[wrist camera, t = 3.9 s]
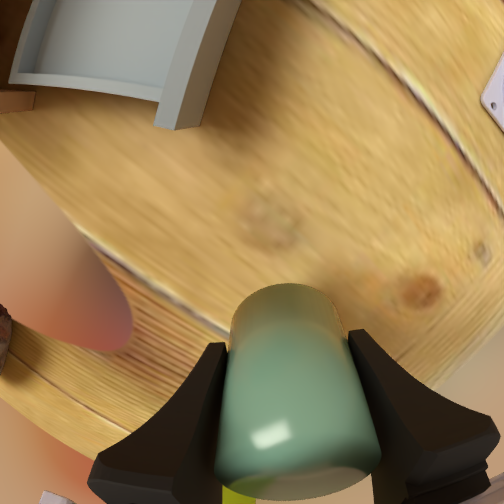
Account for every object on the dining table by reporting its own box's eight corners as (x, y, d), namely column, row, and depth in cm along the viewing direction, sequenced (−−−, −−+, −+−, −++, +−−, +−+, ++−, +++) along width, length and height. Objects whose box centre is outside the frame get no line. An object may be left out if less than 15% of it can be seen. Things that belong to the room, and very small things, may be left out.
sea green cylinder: (360, 315, 13) (413, 447, 7) (296, 381, 15) (309, 506, 9) (270, 262, 12) (279, 410, 6) (211, 342, 14) (187, 480, 8)
